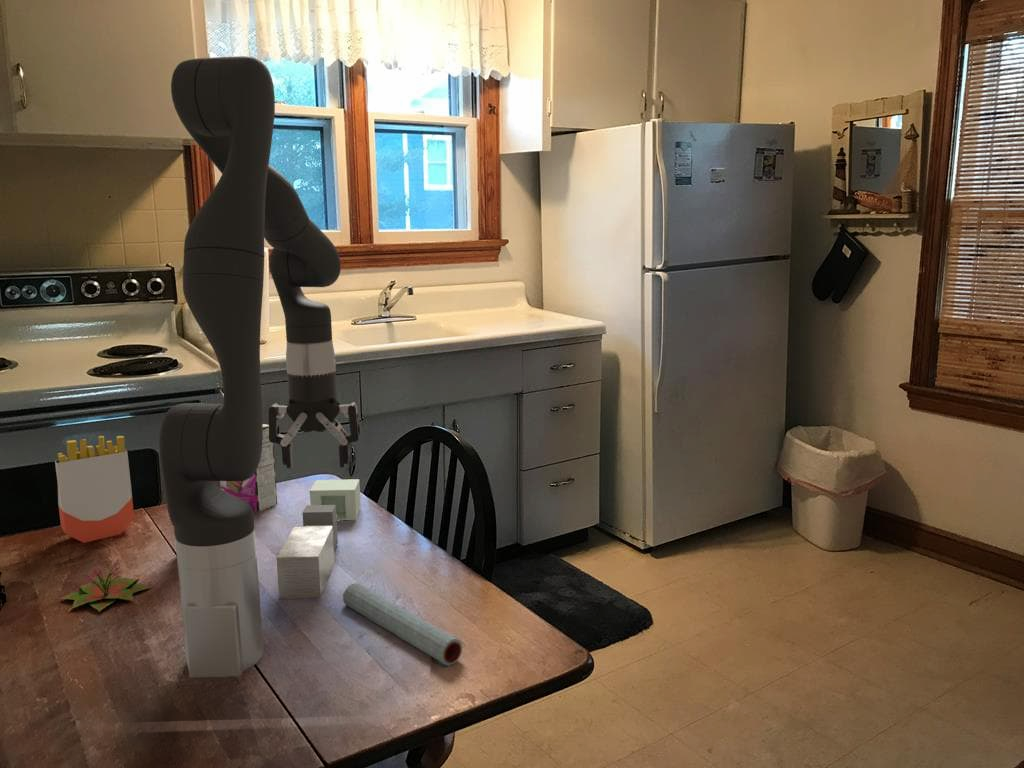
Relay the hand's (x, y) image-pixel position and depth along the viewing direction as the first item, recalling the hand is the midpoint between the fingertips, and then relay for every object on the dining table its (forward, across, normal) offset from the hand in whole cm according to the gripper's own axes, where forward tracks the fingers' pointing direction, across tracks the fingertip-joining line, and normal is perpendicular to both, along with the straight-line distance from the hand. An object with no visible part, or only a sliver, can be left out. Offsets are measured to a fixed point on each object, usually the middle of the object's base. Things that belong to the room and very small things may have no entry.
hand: (317, 466), depth 135 cm
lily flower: (+15, -29, -14) cm, 36 cm away
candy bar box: (+15, -18, +22) cm, 32 cm away
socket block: (+15, 0, +15) cm, 21 cm away
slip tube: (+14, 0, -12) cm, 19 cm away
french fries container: (+15, -40, +9) cm, 44 cm away
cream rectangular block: (+14, 0, -12) cm, 19 cm away
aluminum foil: (+15, +14, -29) cm, 35 cm away
